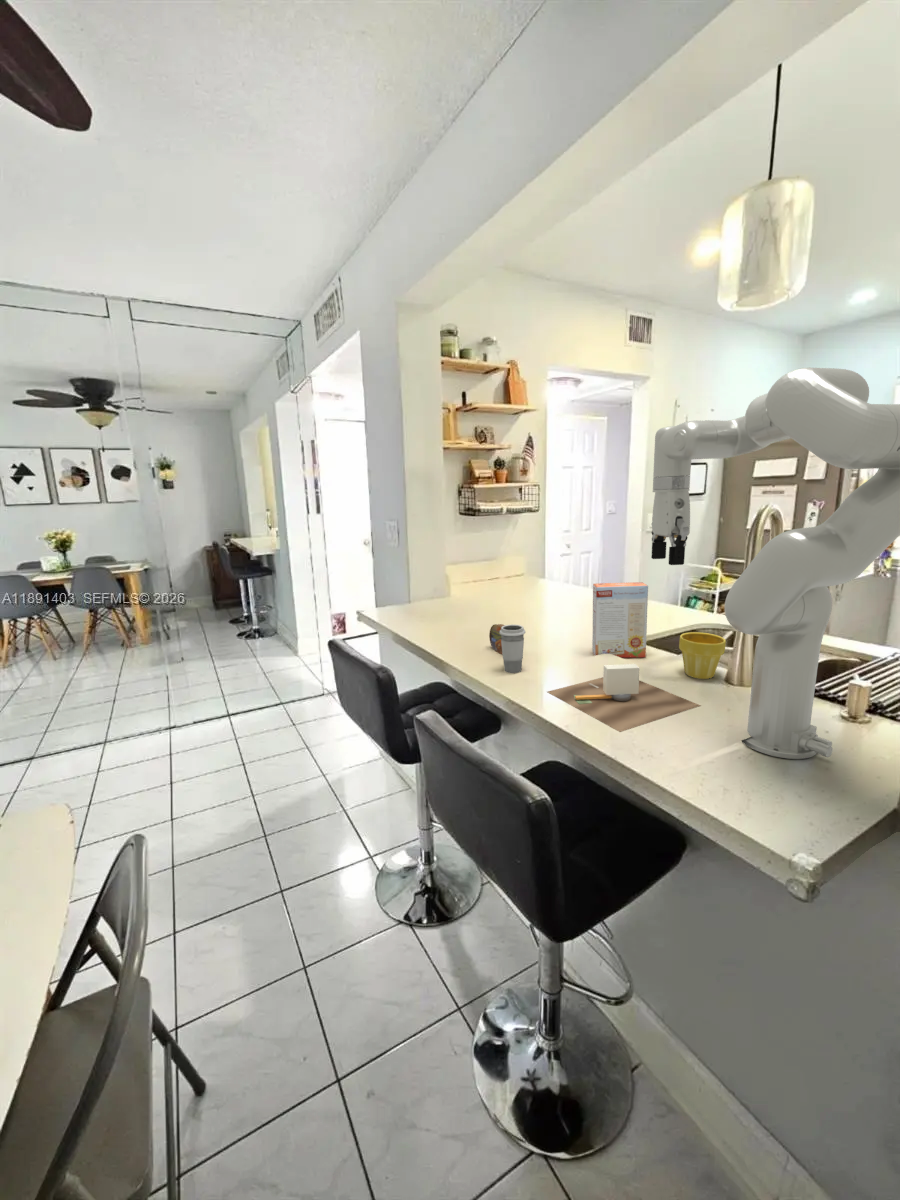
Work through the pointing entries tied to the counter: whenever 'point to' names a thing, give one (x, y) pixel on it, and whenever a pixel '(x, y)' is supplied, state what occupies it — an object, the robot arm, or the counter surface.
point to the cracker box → (620, 619)
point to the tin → (496, 637)
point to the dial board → (624, 704)
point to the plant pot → (701, 653)
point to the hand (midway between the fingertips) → (666, 561)
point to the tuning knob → (618, 682)
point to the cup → (512, 647)
